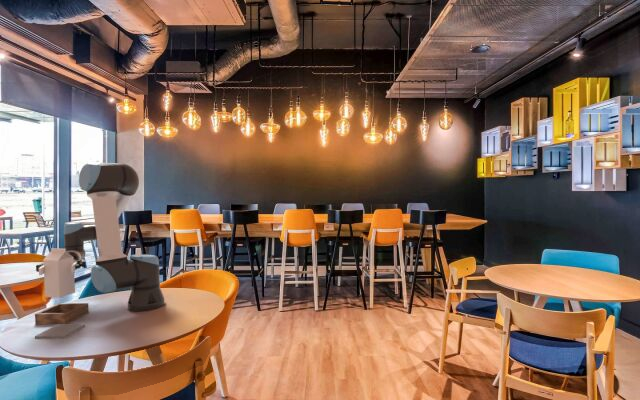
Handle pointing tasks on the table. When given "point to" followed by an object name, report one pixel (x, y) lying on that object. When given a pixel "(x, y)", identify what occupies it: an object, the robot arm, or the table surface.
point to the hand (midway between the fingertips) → (56, 270)
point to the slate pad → (60, 331)
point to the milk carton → (58, 273)
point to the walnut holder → (61, 313)
